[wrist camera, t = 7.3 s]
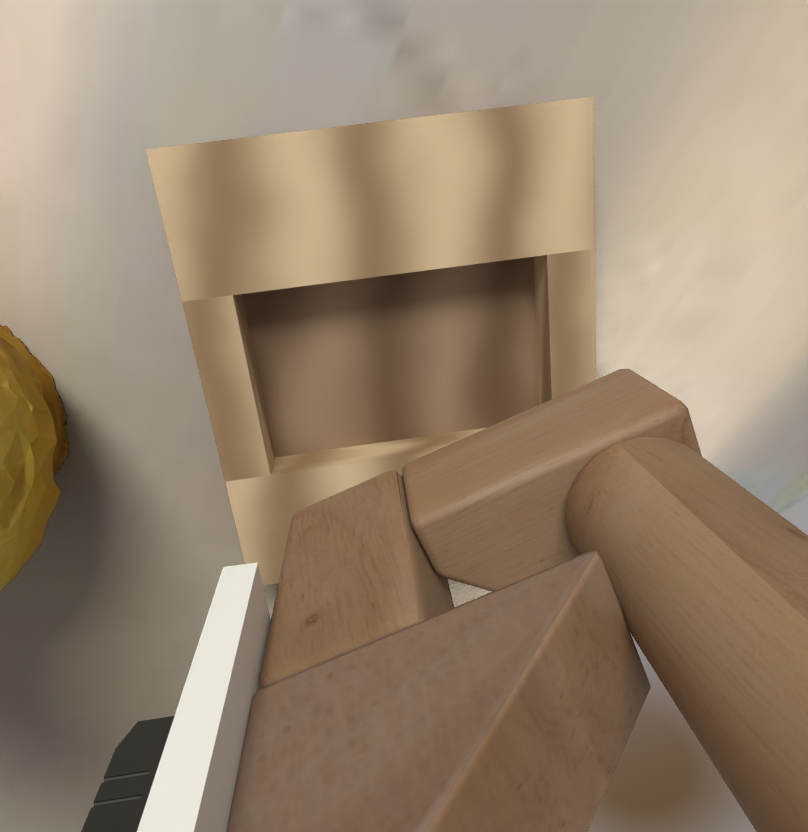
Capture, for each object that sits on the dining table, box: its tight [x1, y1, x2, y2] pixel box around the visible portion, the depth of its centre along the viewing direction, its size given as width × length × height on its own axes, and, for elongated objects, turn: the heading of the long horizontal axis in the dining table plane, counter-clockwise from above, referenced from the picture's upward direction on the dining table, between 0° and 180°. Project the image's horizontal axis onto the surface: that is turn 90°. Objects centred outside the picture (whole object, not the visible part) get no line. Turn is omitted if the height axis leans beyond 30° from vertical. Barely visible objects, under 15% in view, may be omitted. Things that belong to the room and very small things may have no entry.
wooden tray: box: [146, 97, 596, 585], centre depth 35 cm, size 21×24×4 cm
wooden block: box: [226, 369, 808, 832], centre depth 10 cm, size 4×11×18 cm, turn 114°
